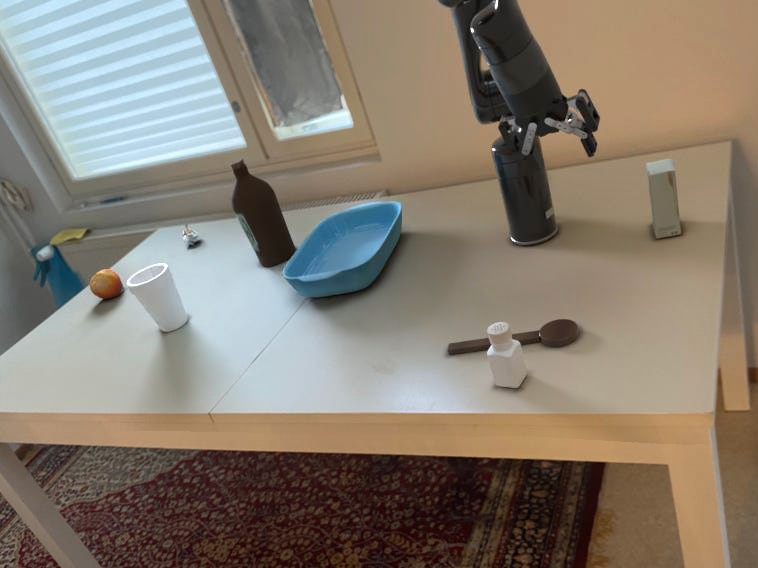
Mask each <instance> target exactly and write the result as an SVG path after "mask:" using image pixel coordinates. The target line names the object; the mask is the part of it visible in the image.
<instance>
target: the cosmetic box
mask: <svg viewBox="0 0 758 568" xmlns="http://www.w3.org/2000/svg"><path fill="white" fill-rule="evenodd" d="M645 166H646V167H645V168H646V176H647V177H646V178H647V183H648V193H649V200H650V202H649V203H650V211H651V217H652V226H653V231H654V236H655V238H656V239H663V238H668V237H673V236H679V235H681V234H682V228H681V219H680V209H679V208H680V207H679V197H678V187H677V177H676V168H675V164H674V161H673V160H672V158H670V157H669V158H665V159H659V160H655V161H649V162H646V163H645Z"/></svg>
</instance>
